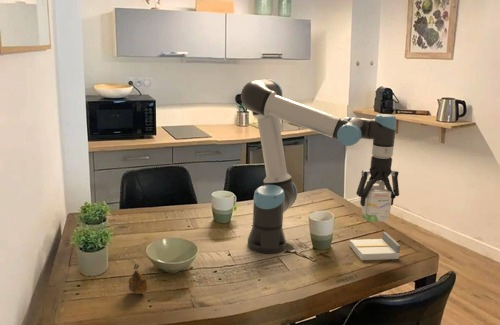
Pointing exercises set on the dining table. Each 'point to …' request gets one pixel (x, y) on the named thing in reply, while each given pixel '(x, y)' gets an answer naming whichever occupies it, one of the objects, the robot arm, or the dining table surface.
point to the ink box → (378, 203)
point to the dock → (376, 248)
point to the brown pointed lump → (137, 281)
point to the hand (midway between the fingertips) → (375, 213)
